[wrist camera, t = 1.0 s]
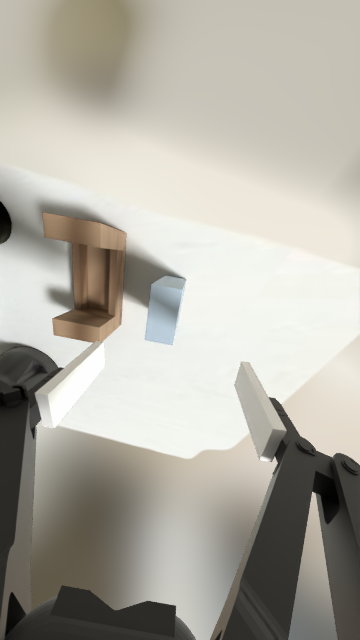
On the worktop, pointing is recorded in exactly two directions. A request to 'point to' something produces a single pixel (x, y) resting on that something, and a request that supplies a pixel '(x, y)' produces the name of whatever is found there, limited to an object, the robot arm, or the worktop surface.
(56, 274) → the worktop surface
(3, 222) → the container
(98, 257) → the frame
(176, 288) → the door
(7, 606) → the robot arm
